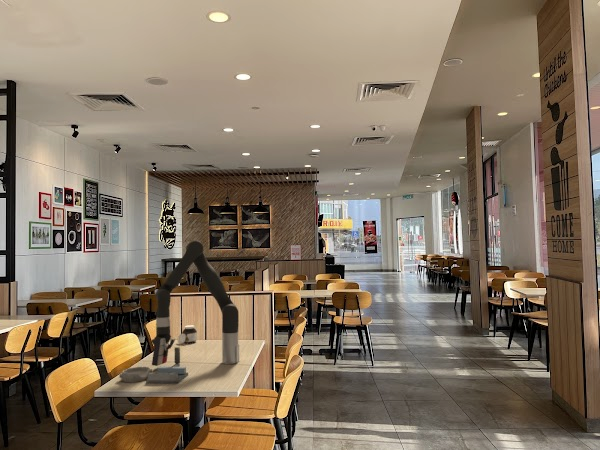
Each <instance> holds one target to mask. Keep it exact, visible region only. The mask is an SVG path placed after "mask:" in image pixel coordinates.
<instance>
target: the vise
mask: <svg viewBox="0 0 600 450" xmlns="http://www.w3.org/2000/svg"><path fill="white" fill-rule="evenodd" d="M188 376H189V372H186V373H184V374H178V373H158V372H152V373H149V374H148V379H146V380H145V384H165V385H167V384H172V385H174V384H175V385H176V384H177V385H178V384H180V383H181V382H182V381H183V380H184V379H185V378H187V377H188Z"/></svg>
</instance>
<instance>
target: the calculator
mask: <svg viewBox="0 0 600 450" xmlns="http://www.w3.org/2000/svg"><path fill="white" fill-rule="evenodd" d="M153 339H154V345H153V352H152V353H153V355H152V361H151V366H155V367H158V366H162V365H163V364H166V363H168V356H169V354H168V355H167V357H164V337H156V336H154V338H153ZM169 344H170V341H169V342H168V346H169Z"/></svg>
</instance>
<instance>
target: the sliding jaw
mask: <svg viewBox="0 0 600 450" xmlns="http://www.w3.org/2000/svg"><path fill="white" fill-rule="evenodd" d="M157 373H178V374H184V373H187V367H186V366H181V347H180V346H176V347H174V364H173V365H172V366H159V367H157Z"/></svg>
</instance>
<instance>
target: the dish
mask: <svg viewBox="0 0 600 450" xmlns="http://www.w3.org/2000/svg"><path fill="white" fill-rule="evenodd" d="M149 373H154V372H153V369H152V368H150V367H149V366H135V367H129V368H126V369H123V370H122V372H119V379H121V381H122V382H124V383H137V382H143V381H146V380H147V379H148V374H149Z"/></svg>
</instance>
